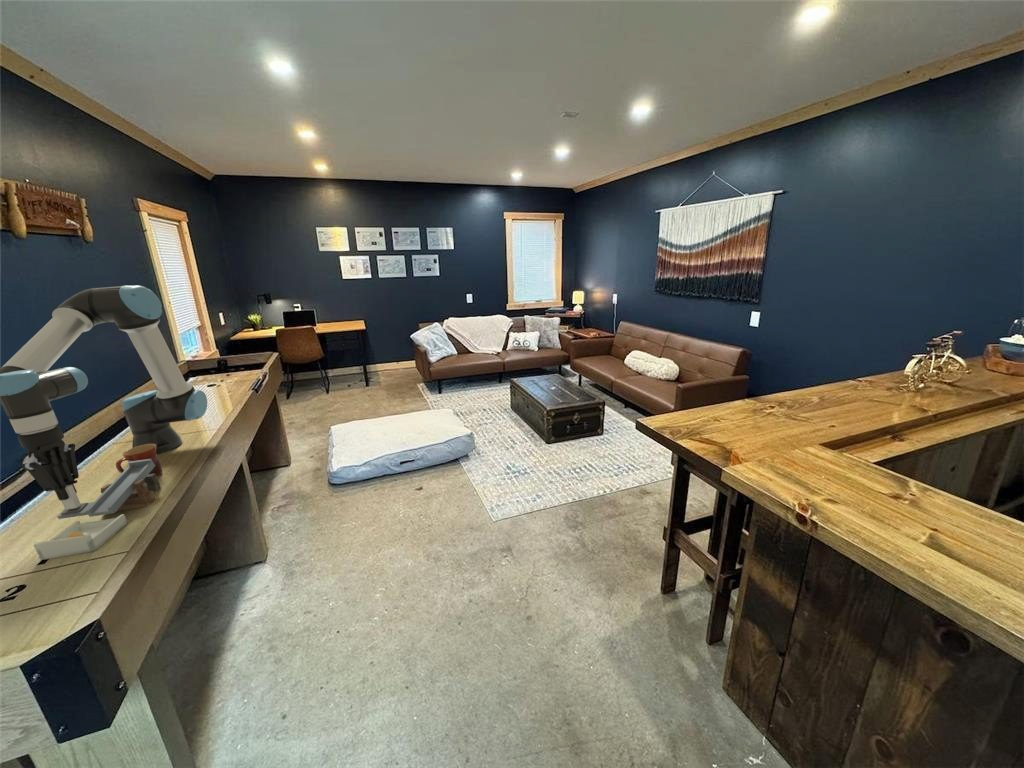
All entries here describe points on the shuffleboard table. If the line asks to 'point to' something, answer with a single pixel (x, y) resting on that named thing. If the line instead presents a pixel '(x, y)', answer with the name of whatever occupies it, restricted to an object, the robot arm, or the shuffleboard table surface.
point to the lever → (113, 492)
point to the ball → (75, 534)
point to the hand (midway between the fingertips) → (73, 507)
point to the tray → (80, 538)
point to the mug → (141, 457)
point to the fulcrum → (140, 493)
